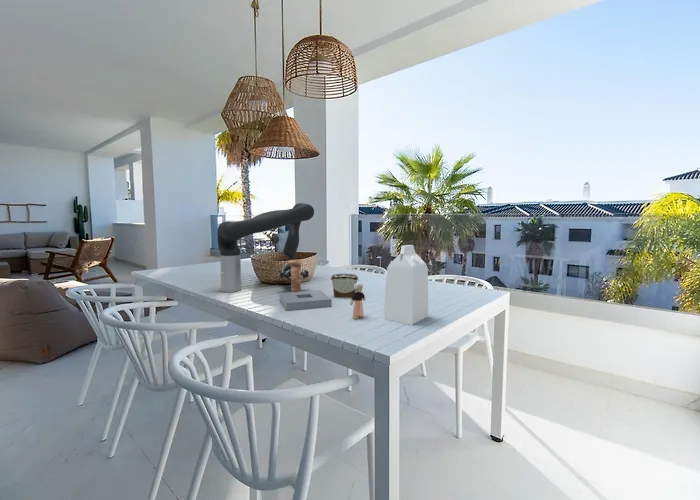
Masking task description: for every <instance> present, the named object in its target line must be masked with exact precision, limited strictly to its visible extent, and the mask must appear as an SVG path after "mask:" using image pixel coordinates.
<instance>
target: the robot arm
mask: <svg viewBox="0 0 700 500" xmlns="http://www.w3.org/2000/svg"><path fill="white" fill-rule="evenodd" d="M314 216H315V209H314V207H313V206H312V205H311V204H309V203H301V202H298V203H296V204H295V205H294V206H293V207H292V208H290V209H279V210H278V209H277V210H270V211H266V212H262V213H259V214H257V215H255V216H254V217H251V218H248V219H244V220H237V221H228V220H227V221H223V222H221V223H220V224H219V225H218V227H217V246H218V250H219V257H220V258H219V259H220V289H221V290H220V291H221V293H223V292H225V293H232V292H233V293H234V292H239V291H242V273H241V272H242V265H241V258H242V257H241V249H240V247H239V245H238V240H241V239H242V238H243V239H244V238H245V237H248V236H250V235H253V234H259V233H265V232H268V231H272V230H276V229H278V228H283V227H285V226H288V225H289V227H288V232H287V237H286V241H285V243H284V247H283V250H282V254H283V255H284V256H286V257H288V258H289V261H290V260H296V255H297V252H298V247H299V245H300V228H301V223H302V222H306V221H309V220H311V219H312V218H313V217H314ZM276 261H288V260H287V259H284V258H279V259H277V260H276ZM277 272H278V274H277V275H278V277H279V278H280V279H286V280H289V281H291V265H290V263H287V264H285V265H284V266H283V268H282V272H281V271H277ZM309 273H310V271H309V270H308V269H304V270H302V269H301V278H303V279H306V278H308V277H309V276H310V275H309Z"/></svg>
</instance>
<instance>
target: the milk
mask: <svg viewBox="0 0 700 500" xmlns="http://www.w3.org/2000/svg"><path fill="white" fill-rule="evenodd" d="M400 248H401V249H400V253H399V254H398V255H397V256H396V257H395V258H394V259H393V260H391V262H390V263H389V264H388V266H387V267H386V275H385V276H386V278H385V290H384V305H383V319H384V318H385V320H390V321H393V320H394V321H393V322H398V321H399V322H398V323H402V322H403V323H402V324H406V323H407V324H408V325H411V324H413V325H415V324H416V322H417V323H419V322H420V320H421V321H423V320H425V319H427V318H429V275H428V274H429V271H428V270H429V269H428V265H427V264H426V262H425V261H424V260H423V259H422V258H421V257H420V256H419V255H418V254H417V252H416V250H415V246H414V245H413V244H406V245H401V247H400ZM426 317H427V318H426ZM424 318H425V319H424ZM422 319H423V320H422ZM418 321H419V322H418ZM414 323H415V324H414ZM407 324H406V325H407Z"/></svg>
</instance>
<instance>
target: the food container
mask: <svg viewBox="0 0 700 500" xmlns="http://www.w3.org/2000/svg"><path fill="white" fill-rule="evenodd" d="M330 280H331V282H332V283H331V284H332V290H333V291H332V292H333V298H334V299H335V298H336V299H352V297H353V295H354V293H355V292H356V291H355V289H354V285H355V284H356V283H358V282H359V277H358V275H357V274H354V273H335V274H332V275H331V277H330Z"/></svg>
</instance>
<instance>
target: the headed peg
mask: <svg viewBox="0 0 700 500" xmlns="http://www.w3.org/2000/svg"><path fill="white" fill-rule="evenodd" d="M289 261H290V265H291V280H290V290H291V292H301V291H302V280H301V279H302V277H301V270H302V269H301V267H302V266H301V265H302V264H303V259H295V260H290V259H289Z"/></svg>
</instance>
